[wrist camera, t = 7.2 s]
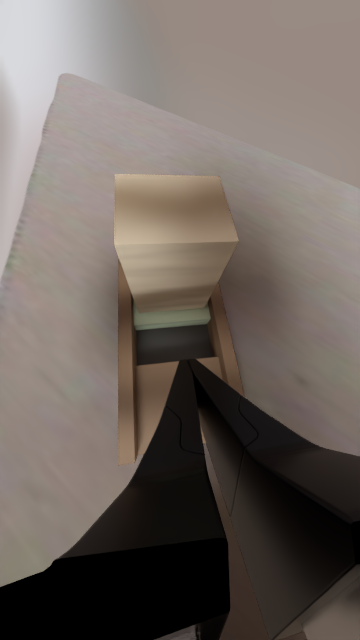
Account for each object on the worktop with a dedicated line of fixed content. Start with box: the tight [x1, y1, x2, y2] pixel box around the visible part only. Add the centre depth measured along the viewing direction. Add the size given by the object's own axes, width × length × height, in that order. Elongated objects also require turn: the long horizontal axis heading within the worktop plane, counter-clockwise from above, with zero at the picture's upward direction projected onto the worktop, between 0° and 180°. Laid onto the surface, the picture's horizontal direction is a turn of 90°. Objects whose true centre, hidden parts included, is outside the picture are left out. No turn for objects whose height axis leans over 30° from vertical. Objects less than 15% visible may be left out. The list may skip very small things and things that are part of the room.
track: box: [118, 260, 245, 466], centre depth 16 cm, size 20×9×3 cm, turn 7°
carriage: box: [114, 174, 239, 313], centre depth 13 cm, size 5×6×8 cm
